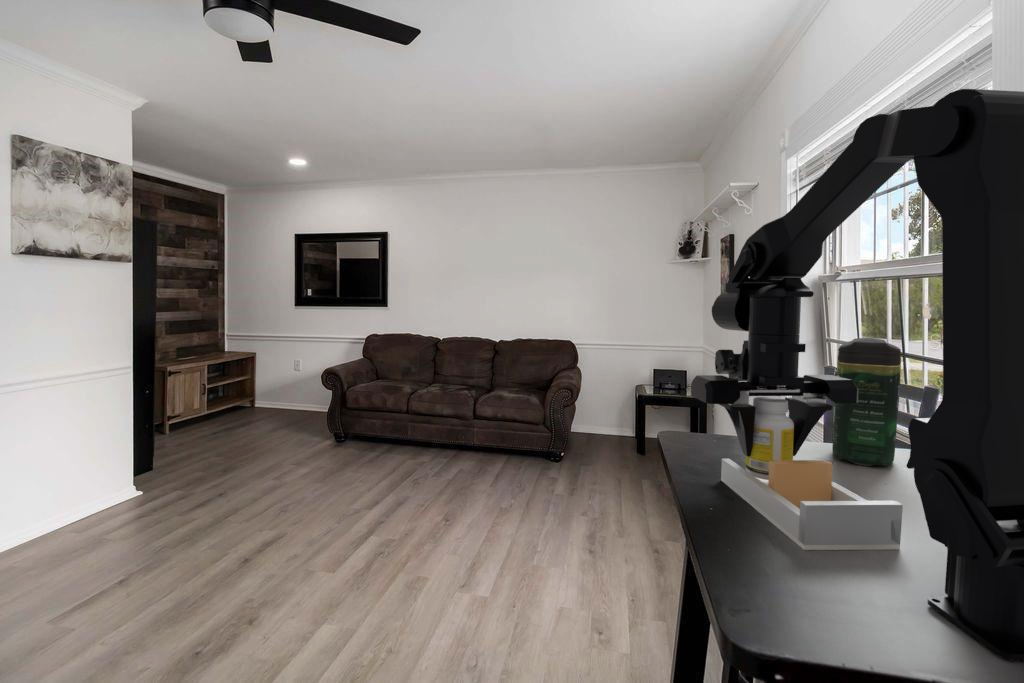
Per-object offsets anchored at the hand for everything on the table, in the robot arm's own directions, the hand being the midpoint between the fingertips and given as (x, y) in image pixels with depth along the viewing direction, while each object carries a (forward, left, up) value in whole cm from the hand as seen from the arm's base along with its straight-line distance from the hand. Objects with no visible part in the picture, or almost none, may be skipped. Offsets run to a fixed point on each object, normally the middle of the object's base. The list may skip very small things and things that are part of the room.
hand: (769, 455), depth 64 cm
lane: (-6, 0, -4) cm, 8 cm away
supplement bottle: (0, 0, -3) cm, 3 cm away
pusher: (-6, 0, -4) cm, 8 cm away
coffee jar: (+12, -21, -5) cm, 25 cm away
